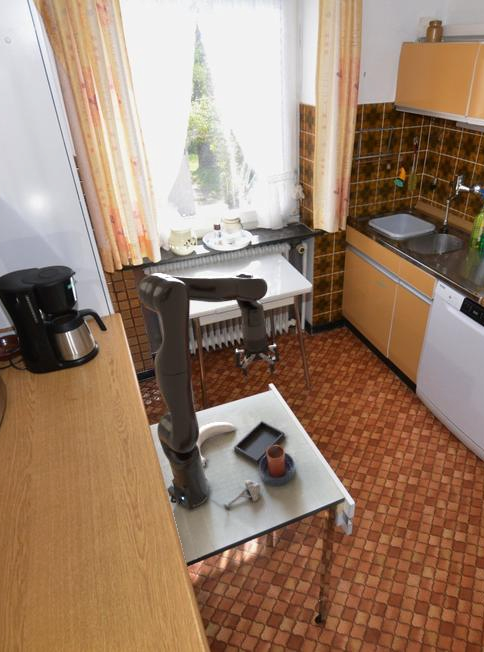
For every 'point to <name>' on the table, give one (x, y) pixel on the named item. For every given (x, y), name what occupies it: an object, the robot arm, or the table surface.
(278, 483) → the bowl
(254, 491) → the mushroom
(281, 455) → the cup
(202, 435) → the banana
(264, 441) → the tray
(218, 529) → the table surface
